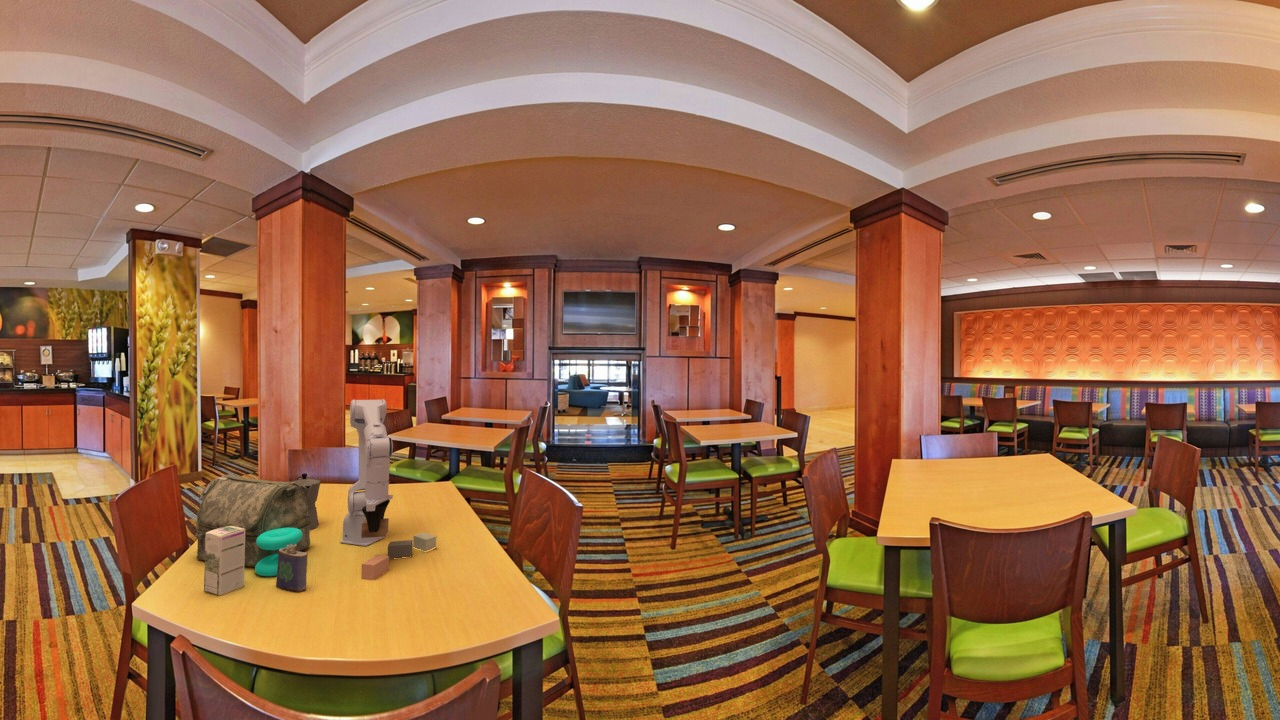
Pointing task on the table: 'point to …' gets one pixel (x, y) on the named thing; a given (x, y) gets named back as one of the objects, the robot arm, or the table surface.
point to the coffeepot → (310, 496)
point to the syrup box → (224, 560)
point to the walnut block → (381, 532)
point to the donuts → (275, 547)
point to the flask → (291, 569)
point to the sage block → (424, 541)
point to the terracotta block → (375, 567)
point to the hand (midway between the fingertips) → (375, 529)
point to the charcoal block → (399, 549)
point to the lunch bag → (252, 512)
